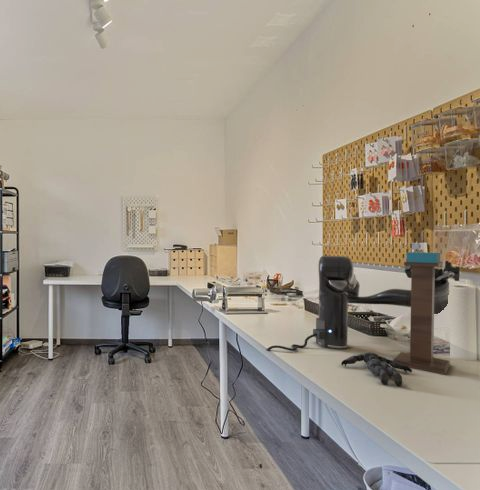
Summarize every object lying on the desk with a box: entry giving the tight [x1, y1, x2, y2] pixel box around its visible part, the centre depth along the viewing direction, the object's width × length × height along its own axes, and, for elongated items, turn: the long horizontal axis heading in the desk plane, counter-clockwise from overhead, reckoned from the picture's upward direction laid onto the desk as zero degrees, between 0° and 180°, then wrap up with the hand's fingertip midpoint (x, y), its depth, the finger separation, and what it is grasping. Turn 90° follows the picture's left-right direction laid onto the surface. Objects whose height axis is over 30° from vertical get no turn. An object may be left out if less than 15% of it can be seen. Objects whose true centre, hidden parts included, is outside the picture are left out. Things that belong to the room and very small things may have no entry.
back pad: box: [405, 251, 441, 263], centre depth 116 cm, size 19×7×3 cm, turn 132°
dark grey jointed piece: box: [341, 351, 413, 387], centre depth 106 cm, size 18×4×20 cm
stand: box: [393, 261, 451, 375], centre depth 113 cm, size 12×12×32 cm
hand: (429, 262), depth 122 cm, fingers open, 8 cm apart
